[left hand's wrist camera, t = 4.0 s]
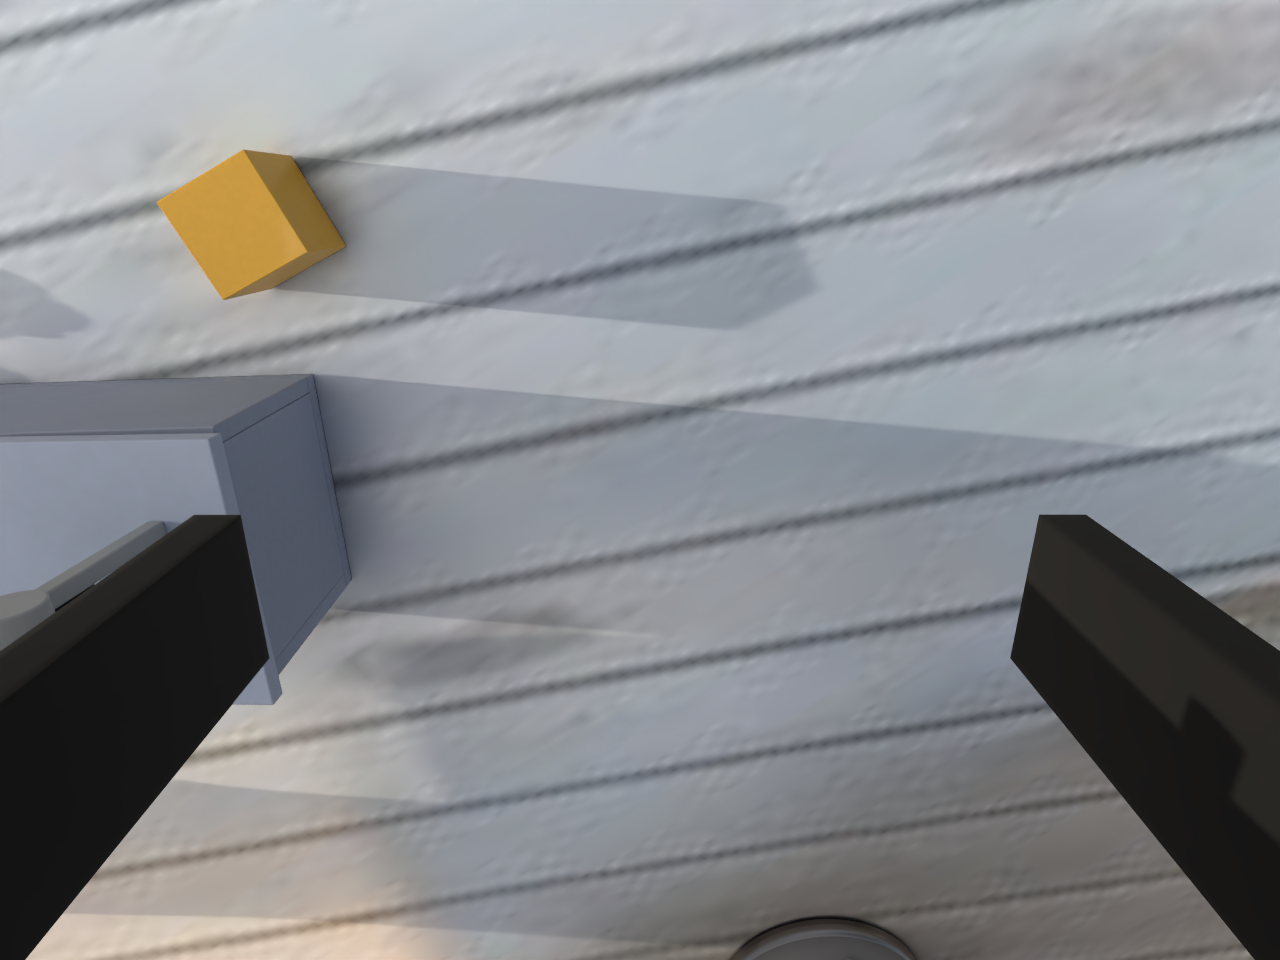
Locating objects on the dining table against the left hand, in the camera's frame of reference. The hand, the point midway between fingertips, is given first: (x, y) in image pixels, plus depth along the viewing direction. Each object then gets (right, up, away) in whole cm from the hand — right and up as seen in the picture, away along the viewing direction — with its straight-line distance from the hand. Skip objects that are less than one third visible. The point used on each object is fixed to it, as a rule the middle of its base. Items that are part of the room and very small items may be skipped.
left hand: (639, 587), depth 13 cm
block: (-18, +14, +25) cm, 34 cm away
